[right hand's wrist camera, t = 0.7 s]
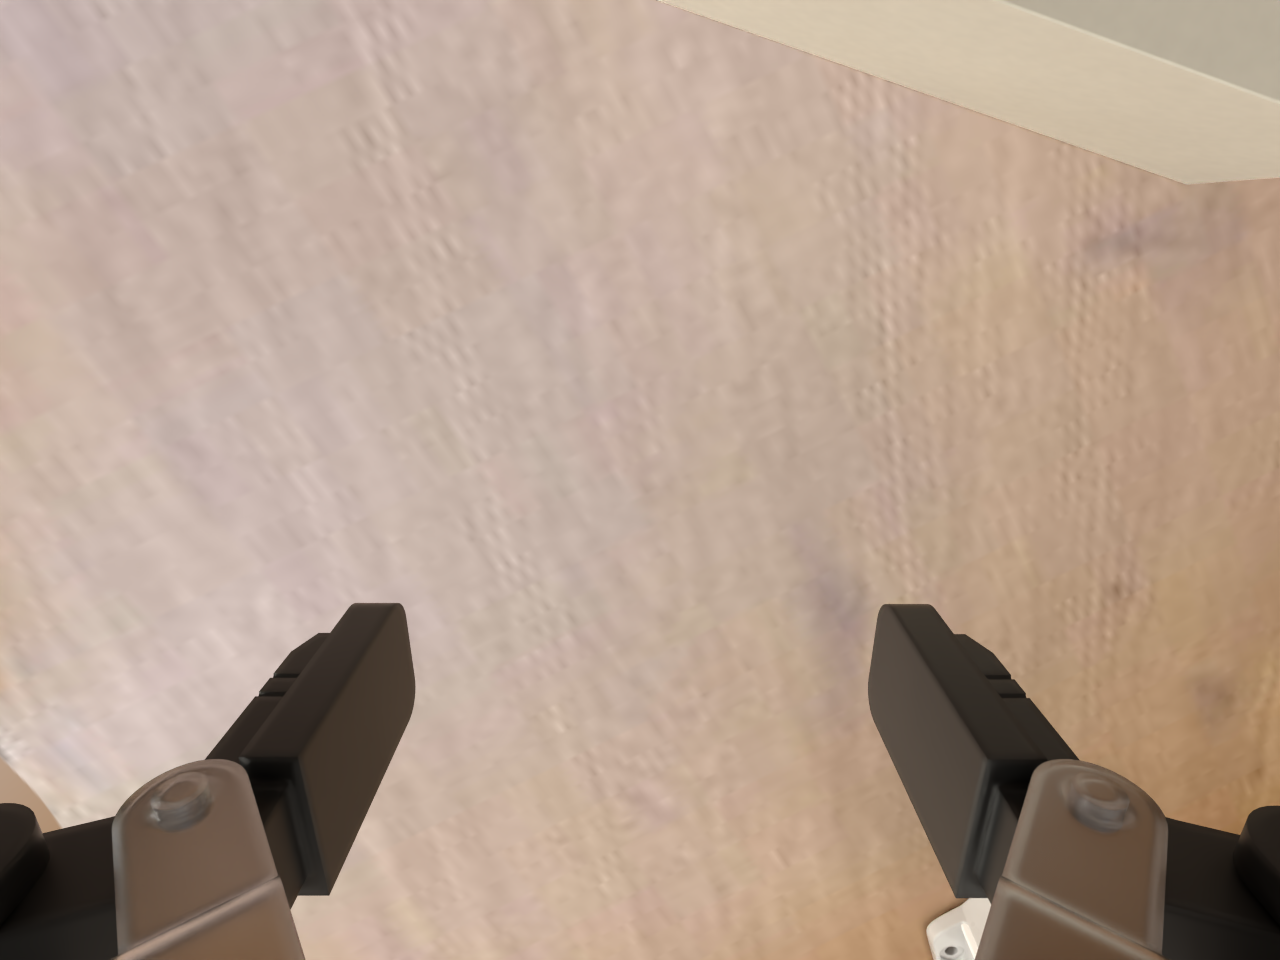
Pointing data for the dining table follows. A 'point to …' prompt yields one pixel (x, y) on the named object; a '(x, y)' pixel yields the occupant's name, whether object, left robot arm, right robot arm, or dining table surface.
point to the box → (1067, 68)
